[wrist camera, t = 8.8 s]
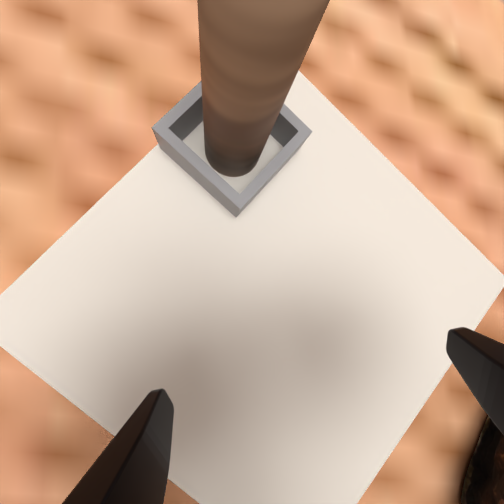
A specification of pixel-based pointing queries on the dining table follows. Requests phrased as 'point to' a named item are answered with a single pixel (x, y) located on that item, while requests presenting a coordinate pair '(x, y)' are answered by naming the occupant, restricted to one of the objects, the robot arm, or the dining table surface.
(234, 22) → the stool leg
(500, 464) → the pine cone
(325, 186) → the stool seat
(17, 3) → the dining table surface
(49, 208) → the dining table surface
